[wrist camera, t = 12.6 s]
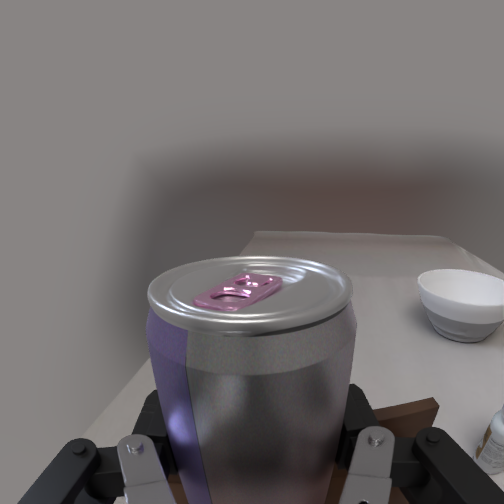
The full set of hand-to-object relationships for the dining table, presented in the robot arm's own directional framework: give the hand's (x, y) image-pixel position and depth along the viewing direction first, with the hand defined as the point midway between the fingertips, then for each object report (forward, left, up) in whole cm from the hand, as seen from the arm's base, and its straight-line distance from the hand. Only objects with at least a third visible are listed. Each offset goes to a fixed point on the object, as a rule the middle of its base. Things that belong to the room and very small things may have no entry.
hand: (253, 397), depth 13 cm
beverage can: (0, -3, -9) cm, 10 cm away
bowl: (+37, +31, -16) cm, 51 cm away
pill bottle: (+23, +3, -16) cm, 28 cm away
